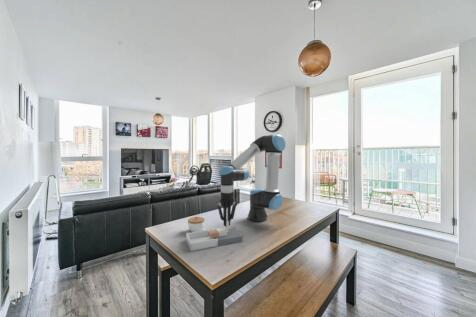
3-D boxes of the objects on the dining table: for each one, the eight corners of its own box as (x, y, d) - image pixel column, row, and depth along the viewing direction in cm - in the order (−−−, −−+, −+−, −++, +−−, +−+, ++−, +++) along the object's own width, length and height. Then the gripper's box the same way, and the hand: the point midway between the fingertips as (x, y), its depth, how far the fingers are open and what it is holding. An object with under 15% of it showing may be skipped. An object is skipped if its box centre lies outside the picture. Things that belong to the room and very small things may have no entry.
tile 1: (216, 233, 120) (216, 229, 120) (218, 236, 116) (218, 232, 116) (208, 234, 118) (208, 230, 118) (210, 238, 114) (210, 233, 114)
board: (233, 232, 130) (233, 227, 130) (242, 241, 117) (242, 236, 117) (211, 236, 124) (211, 231, 124) (218, 245, 111) (218, 240, 111)
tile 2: (224, 232, 122) (224, 228, 122) (227, 235, 118) (227, 231, 118) (216, 233, 120) (216, 229, 120) (219, 236, 116) (219, 232, 116)
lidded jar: (207, 229, 134) (207, 215, 134) (196, 235, 125) (196, 220, 125) (195, 226, 140) (195, 213, 139) (184, 232, 130) (184, 217, 130)
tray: (210, 235, 124) (210, 229, 124) (217, 246, 110) (217, 239, 110) (186, 239, 118) (186, 233, 118) (190, 251, 105) (190, 243, 104)
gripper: (234, 190, 126) (234, 227, 126) (214, 191, 120) (214, 230, 121) (239, 192, 119) (239, 231, 119) (218, 193, 114) (218, 235, 114)
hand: (226, 230), depth 120 cm, fingers closed
